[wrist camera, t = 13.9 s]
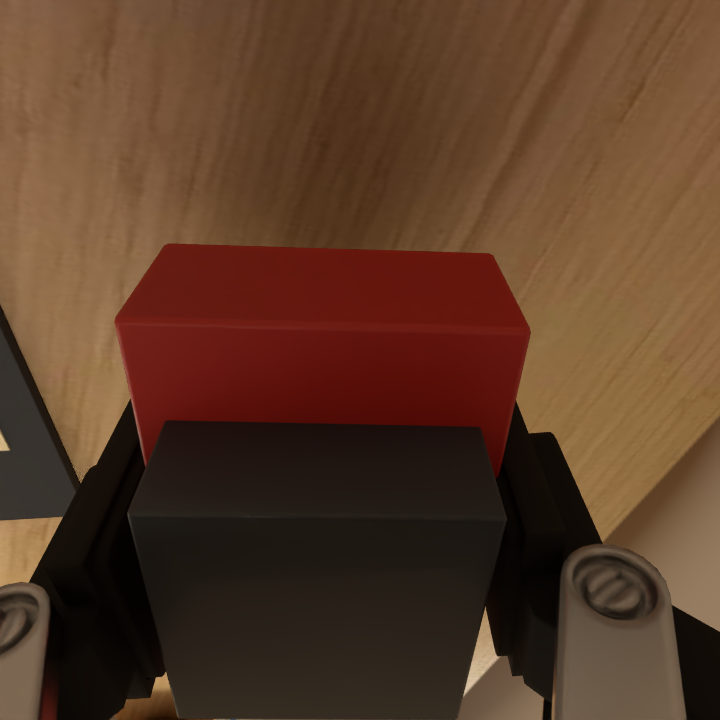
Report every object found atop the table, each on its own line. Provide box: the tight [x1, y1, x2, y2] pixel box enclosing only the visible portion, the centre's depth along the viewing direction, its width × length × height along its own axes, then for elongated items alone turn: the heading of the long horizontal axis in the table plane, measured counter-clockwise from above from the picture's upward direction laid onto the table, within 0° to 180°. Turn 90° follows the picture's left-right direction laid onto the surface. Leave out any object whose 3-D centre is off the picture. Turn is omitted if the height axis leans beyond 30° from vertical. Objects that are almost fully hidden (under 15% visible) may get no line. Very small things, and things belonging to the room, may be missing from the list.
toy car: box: [115, 244, 531, 720], centre depth 10 cm, size 8×5×5 cm
